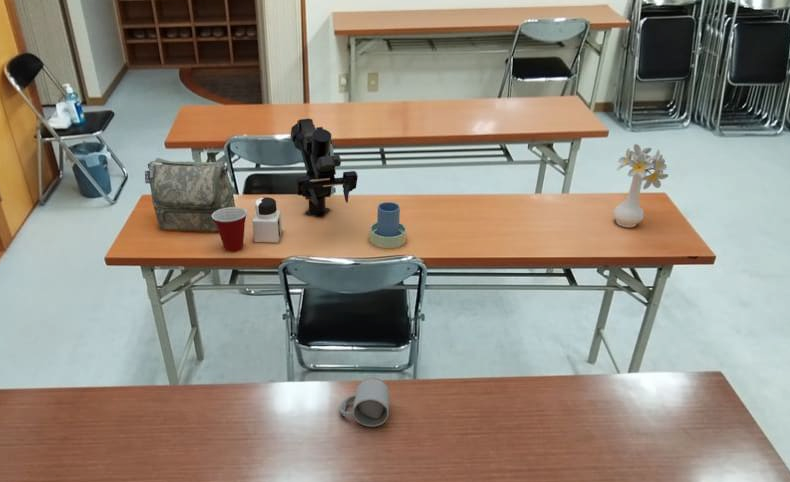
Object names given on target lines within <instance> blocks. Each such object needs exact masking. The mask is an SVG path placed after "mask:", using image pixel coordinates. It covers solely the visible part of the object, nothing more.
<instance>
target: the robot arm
mask: <svg viewBox="0 0 790 482" xmlns="http://www.w3.org/2000/svg"><path fill="white" fill-rule="evenodd" d="M290 141H291V142H292V143H293V146H294V148H295V149H297V150H298V151H300V153H301V158H302V160H303V165H304V168H305V171H306V175H303V176H297V178H296V179H295V192H296V195H297V196H301V197H304V198H305V200H306V201H307V200H308V209H307V210H306V211H305V212H304V213H305V215H306V216H307V215H308V216H313V217H318V218H323V217H324V216H325V215H326V214H327V213H329V211H330V208H329V207H327V205H326V198H331V195H332V187H335V186H342V193H343V196H344V200H345V203H347V204H348V203H349V195H350V192H353V190H355V189H356V188H357V185H358V184H357V183H358V176H359V175H358V172H357V171H356V170H350V171H343V172H342V177H335V176H336V174H337V171H336V167H341V165H342V159H341V155H340V154H333V155H329V154H330V152H331V145H332V143H333V141H332V133H331V132H330V131H329V130H327V129H326V128H323V126H318V127H316V125H315V124H314V121H313V118H300V119H298V120H297V122H296V123H295V124H293V126H292V127H291V129H290Z"/></svg>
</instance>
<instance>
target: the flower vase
mask: <svg viewBox="0 0 790 482" xmlns="http://www.w3.org/2000/svg"><path fill="white" fill-rule="evenodd" d="M651 151H652V148H651V147H645V148H643V149H642V148H641V146H640V145H639V144H637V143H635V144H634V145H633V150H630V148H629V147H628V148H627V149H626V151H625V156H622V157H619V159H618V161H617V162H618V163H619V166H618V167H617V168H616V171H619V170H621V169H622V168H624V167H626V166H629V167H630V168H631V169H630V170H629V171H628V173H627V176H628V177H630V178H631V177H632V181H631V184H630V187H629V191H628V194H627V196H626V198H625V199H624V200H623V201H622V202H621V203H619V204H618V205H616V207H615V208H614V209H613V212H612V215H613V218H614V219H615V222H616V224H617V225H618V226H620V227H623V228H629V229H630V228H634V227H636V226H637V225H638V224H639V223H641V222H642V221H643V220H644V218H645V211H644V210H643V207H642V206H641V205H640V193H641V189H642V188H643V190H647V189H649V187H650V186H653V187H654V188H656V189H659V188H661V186H662V183H661V181H660V180H665V179H667V178H668V177H669V174H667V173H664V171H665V170H667V164H666V162H665V161H666V159H665V158H664V157H663V154H661V152H660V149H657V151H656V153H655V154H653V156H650V155H648V154H649V153H650V152H651ZM650 170H652V171H653V172H651V171H650ZM647 173H648V175H647ZM643 181H645V183H644V184H643ZM642 184H643V187H642Z"/></svg>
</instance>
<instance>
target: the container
mask: <svg viewBox="0 0 790 482" xmlns="http://www.w3.org/2000/svg"><path fill="white" fill-rule="evenodd" d="M254 207H255V214H254V216H253V218H252V231H253V232H252V233H253V240H254V242H255V243H272V244H273V243H277V244H278V243H279V241H280V238H281V235H282V232H283V227H282V226H283V225H282V213H281V210H278V209H277V201H276V199H275V198H274V197H267V196H266V197H265V196H264V197H259V198H258V199H256V201H254Z"/></svg>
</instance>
